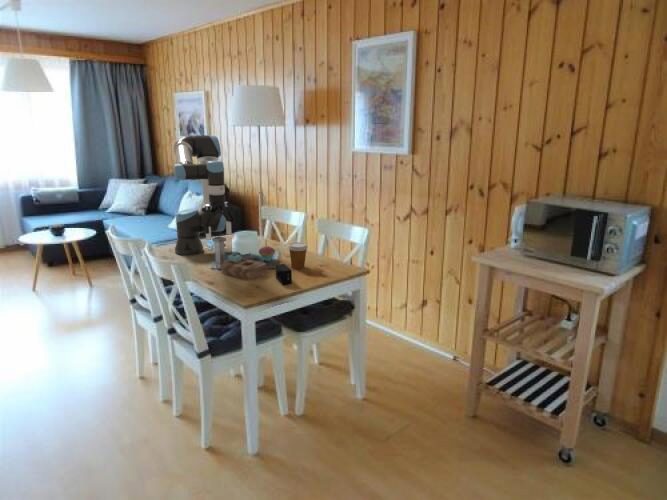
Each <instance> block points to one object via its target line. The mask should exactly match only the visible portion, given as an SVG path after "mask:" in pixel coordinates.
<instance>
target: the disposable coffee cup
mask: <svg viewBox="0 0 667 500" xmlns="http://www.w3.org/2000/svg"><path fill="white" fill-rule="evenodd" d="M307 249H308V246H307V243H305V242H292V243H289V245H288V250H289V257H290V265H291V269H294V270H303V269H304V268H305V263H306V256H307Z"/></svg>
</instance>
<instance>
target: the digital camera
mask: <svg viewBox="0 0 667 500" xmlns="http://www.w3.org/2000/svg"><path fill="white" fill-rule="evenodd" d="M292 276H293V275H292V268H290V266H289V267H288V266H287V265H286V264H285V263H278V264H277V263H276V264H275V279H276V280H277V282H279V283H280V285H282V286H288V285H289V284H290V285H292V280H293V277H292Z"/></svg>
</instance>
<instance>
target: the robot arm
mask: <svg viewBox="0 0 667 500" xmlns="http://www.w3.org/2000/svg"><path fill="white" fill-rule="evenodd" d="M173 153H174V155H175V156H176V161H177V163H176V164H174V165H173V169H174V171H173V172H174V179H176V181H178V180H179V181H185V180H186V181H192V180H194V181H195V180H201V185H202V197H203V198H202V199H203V200H202V201H203V206H202V207H201V208H200V211H199V210H198V209H197V208H186V209H182V210H180V211H178V212H177V213H175V223H176V225H175V226H176V242H175V243H176V244H175V247H174V253H175V254H177V255H180V256H181V255H182V256H189V255H190V256H191V255H192V256H193V255H198V254H201V253H203V252H204V246H203V242H202V240H201V238H200V233H204V234H205V240H206V241H212V233H217V232H223V231H224V230H226V232H225V233H226V235H229V236H232V228H233V225H232V224H233V222H234V220H235V216H234V213H233V210H232V209H231V205H230V202H228V201H226V195H225V193H226V190H225V189H226V188H225V187H226V186H225V167H224V162H223V161H222V160H219V159H220V158H219V157H221V156H222V150H221V144H220V140H219V138H218V136H216V135H209V134H208V135H202V134H201V135H200V134H199V135H198V134H197V135H194V134H188V135H184V136H182V137H181V138H179V139H178V140H177V141H175V143H174V145H173ZM193 157H195V158H196V159H197V161H198V162H199V163H194V160H193Z"/></svg>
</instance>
